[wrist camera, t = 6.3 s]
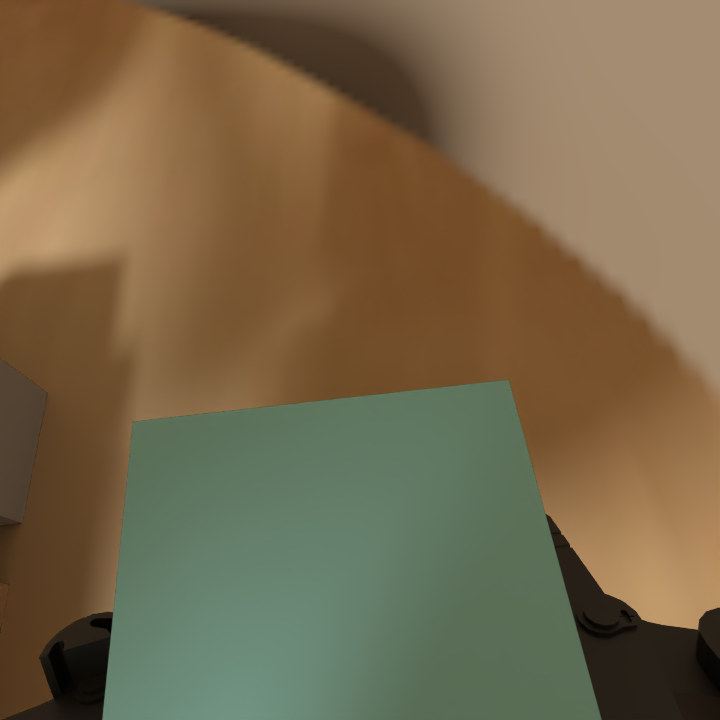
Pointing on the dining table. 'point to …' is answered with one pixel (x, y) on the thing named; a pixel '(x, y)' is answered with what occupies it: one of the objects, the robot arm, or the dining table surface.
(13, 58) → the dining table surface
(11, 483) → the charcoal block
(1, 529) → the dining table surface
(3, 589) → the walnut block
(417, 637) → the teal block
